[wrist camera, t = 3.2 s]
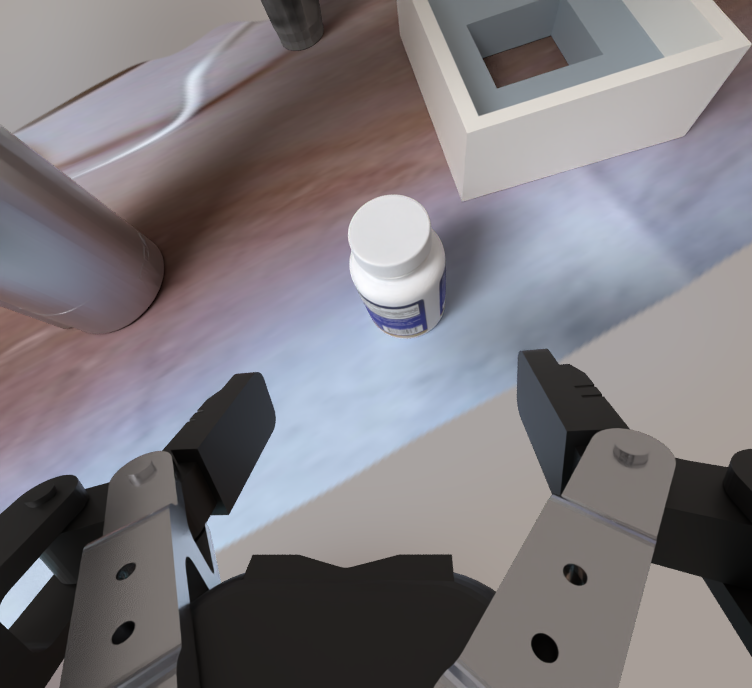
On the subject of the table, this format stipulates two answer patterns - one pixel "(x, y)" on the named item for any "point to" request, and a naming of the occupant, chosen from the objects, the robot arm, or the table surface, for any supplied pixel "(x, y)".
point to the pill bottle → (398, 265)
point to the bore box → (563, 80)
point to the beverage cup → (295, 22)
